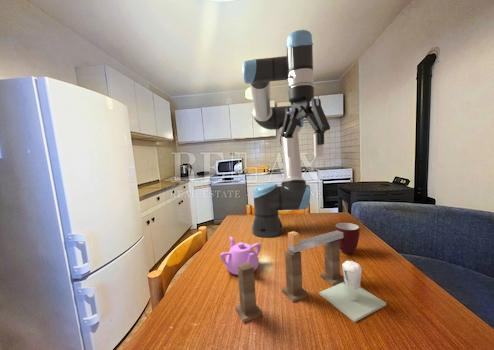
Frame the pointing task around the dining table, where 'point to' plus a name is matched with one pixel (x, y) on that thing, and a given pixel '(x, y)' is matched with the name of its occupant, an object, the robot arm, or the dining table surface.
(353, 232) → the mug
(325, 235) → the bar
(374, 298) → the mat
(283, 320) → the dining table surface
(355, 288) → the milkshake
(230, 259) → the teapot
